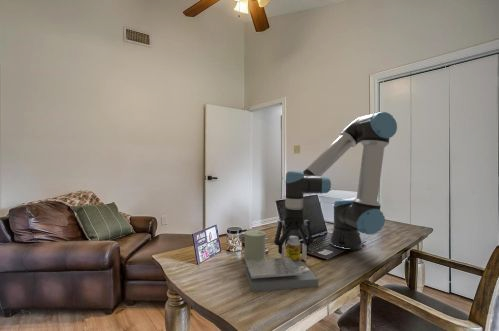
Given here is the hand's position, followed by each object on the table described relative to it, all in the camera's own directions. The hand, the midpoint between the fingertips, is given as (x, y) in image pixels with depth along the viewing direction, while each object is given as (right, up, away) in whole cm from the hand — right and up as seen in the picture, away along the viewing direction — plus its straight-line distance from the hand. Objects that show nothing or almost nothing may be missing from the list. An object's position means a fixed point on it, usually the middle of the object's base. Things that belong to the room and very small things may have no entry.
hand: (293, 260), depth 107 cm
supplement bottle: (0, 0, 0) cm, 0 cm away
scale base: (-8, -1, -16) cm, 18 cm away
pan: (-10, +3, -17) cm, 20 cm away
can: (-16, 0, +1) cm, 16 cm away
